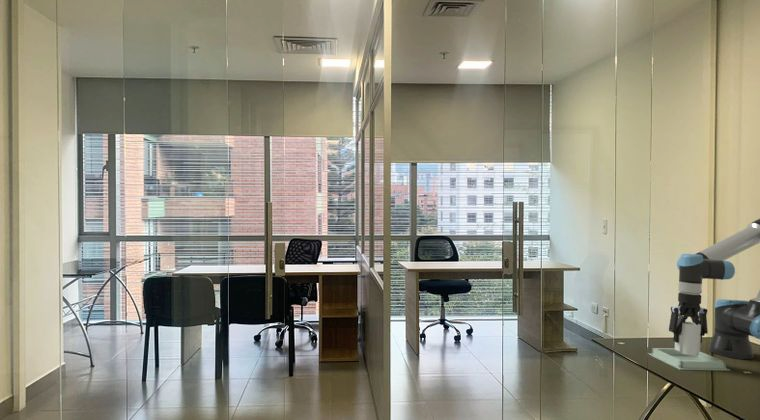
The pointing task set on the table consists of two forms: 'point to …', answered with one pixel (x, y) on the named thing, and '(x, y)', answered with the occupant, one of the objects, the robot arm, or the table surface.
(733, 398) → the table surface
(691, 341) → the mug
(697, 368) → the tray
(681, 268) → the robot arm
